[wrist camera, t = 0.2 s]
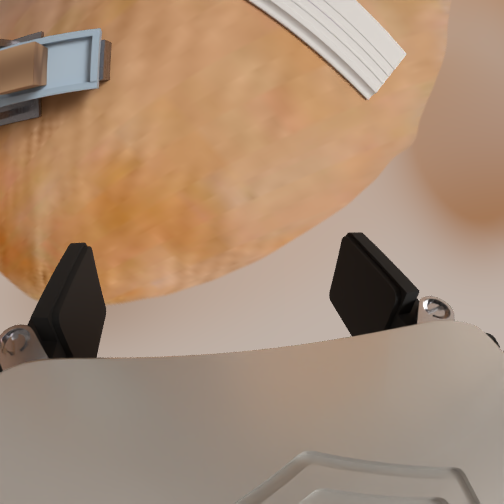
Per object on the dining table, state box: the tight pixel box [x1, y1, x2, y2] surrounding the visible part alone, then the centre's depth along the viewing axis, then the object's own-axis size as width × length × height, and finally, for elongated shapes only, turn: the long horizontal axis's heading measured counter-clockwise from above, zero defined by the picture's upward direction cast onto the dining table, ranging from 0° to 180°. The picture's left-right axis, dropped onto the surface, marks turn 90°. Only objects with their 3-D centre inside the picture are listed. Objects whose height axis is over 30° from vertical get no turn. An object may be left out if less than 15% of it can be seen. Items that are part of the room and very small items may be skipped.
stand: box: [0, 31, 111, 126], centre depth 23 cm, size 12×28×8 cm, turn 86°
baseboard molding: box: [248, 0, 406, 100], centre depth 29 cm, size 31×3×12 cm
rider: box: [0, 41, 48, 95], centre depth 20 cm, size 4×5×6 cm
